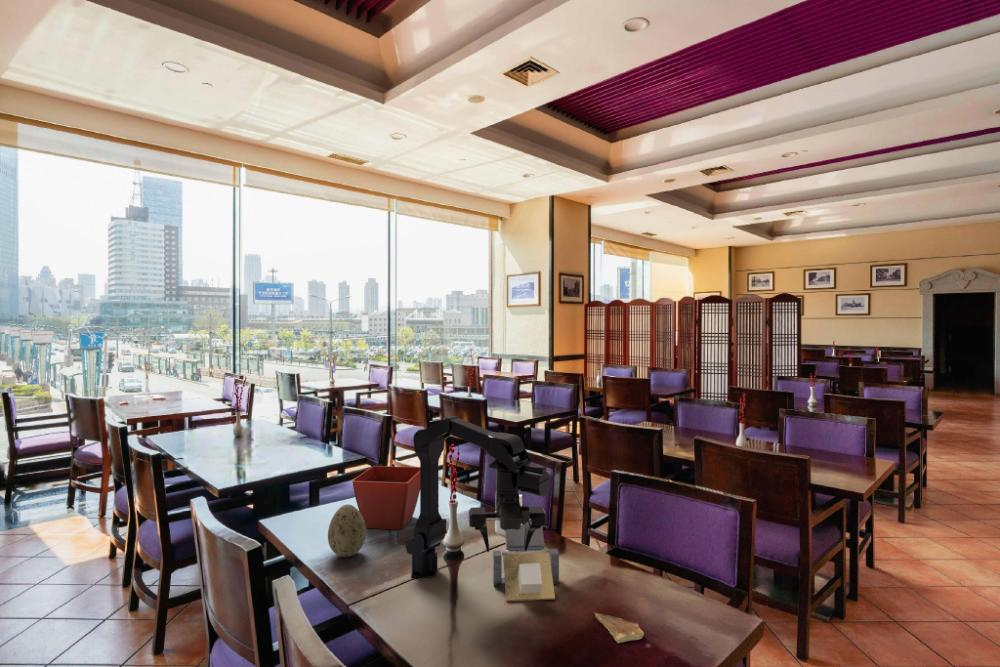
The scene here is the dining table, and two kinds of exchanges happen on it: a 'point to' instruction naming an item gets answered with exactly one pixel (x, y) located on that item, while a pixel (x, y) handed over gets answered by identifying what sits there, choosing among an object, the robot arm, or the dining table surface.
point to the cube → (530, 578)
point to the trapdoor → (518, 556)
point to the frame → (501, 581)
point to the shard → (620, 628)
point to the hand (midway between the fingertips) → (506, 550)
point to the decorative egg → (346, 531)
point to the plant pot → (387, 495)
